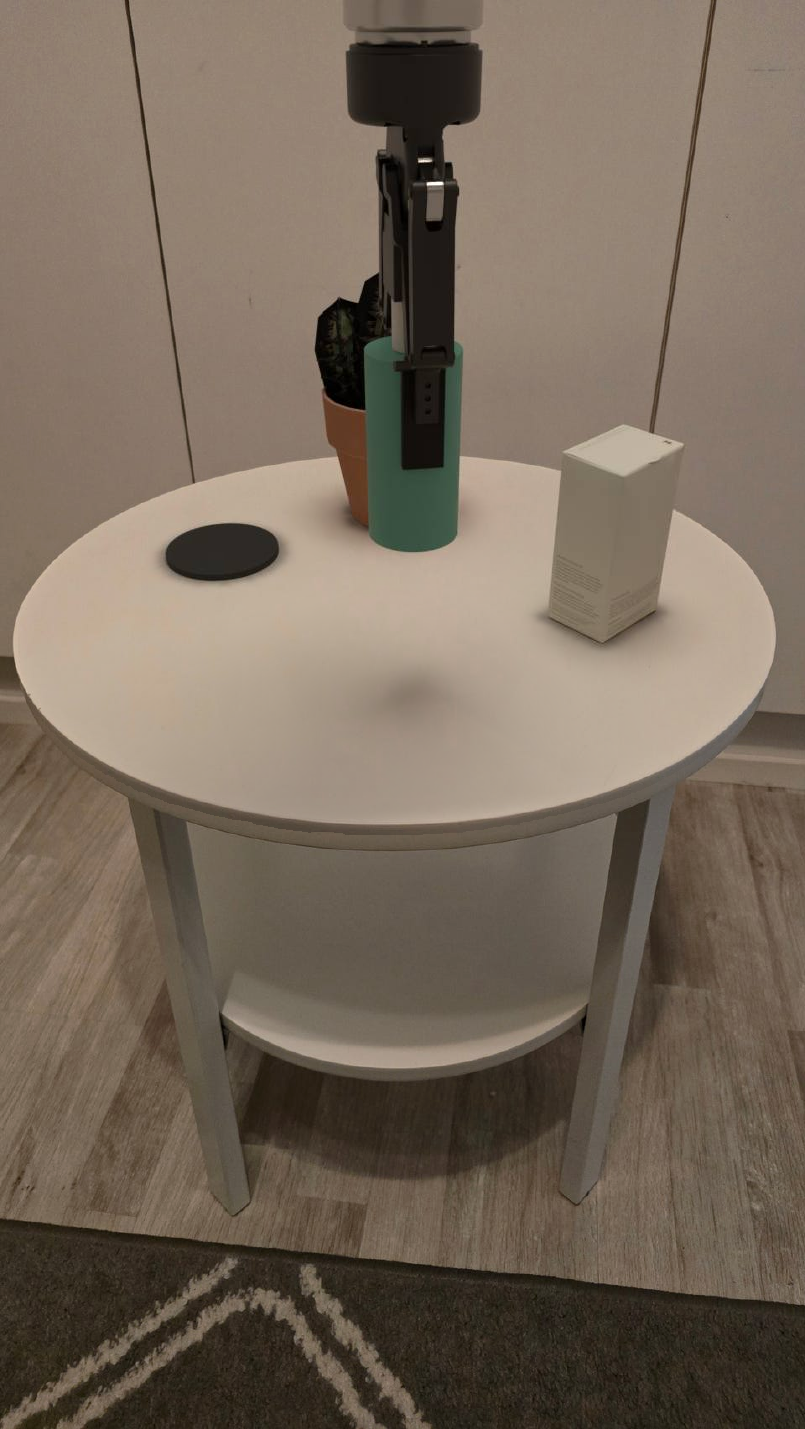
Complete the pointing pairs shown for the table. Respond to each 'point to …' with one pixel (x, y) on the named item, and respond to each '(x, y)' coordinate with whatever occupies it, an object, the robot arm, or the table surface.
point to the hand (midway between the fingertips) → (413, 446)
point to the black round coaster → (222, 551)
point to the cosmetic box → (612, 530)
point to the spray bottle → (400, 500)
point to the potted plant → (349, 385)
